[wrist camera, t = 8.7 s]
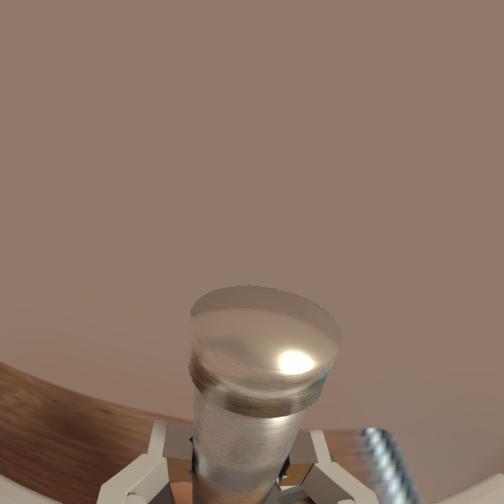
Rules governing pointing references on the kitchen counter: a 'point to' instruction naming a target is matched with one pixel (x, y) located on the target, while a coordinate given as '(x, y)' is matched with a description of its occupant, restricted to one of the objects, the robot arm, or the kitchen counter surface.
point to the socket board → (180, 493)
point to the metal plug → (253, 386)
